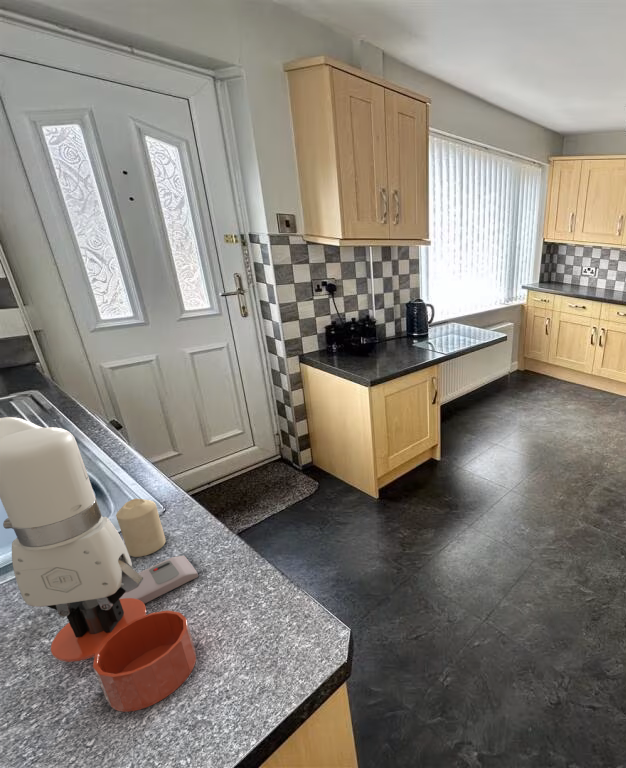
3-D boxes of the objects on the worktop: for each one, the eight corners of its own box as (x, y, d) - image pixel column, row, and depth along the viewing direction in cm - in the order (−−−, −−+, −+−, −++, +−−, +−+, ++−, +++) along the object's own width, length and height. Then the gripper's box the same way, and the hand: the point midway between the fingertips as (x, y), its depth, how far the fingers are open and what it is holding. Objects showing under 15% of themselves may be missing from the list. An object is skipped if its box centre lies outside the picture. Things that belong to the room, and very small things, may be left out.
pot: (90, 720, 52) (74, 684, 50) (132, 650, 61) (120, 617, 59) (178, 702, 55) (166, 667, 52) (207, 638, 63) (198, 605, 61)
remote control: (210, 571, 75) (207, 557, 74) (91, 631, 63) (85, 616, 62) (196, 553, 79) (193, 540, 78) (81, 607, 67) (75, 593, 66)
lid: (32, 672, 55) (17, 641, 53) (83, 609, 64) (72, 581, 62) (124, 656, 58) (112, 626, 56) (160, 598, 67) (151, 570, 65)
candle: (171, 544, 81) (159, 500, 77) (135, 561, 76) (120, 516, 73) (158, 533, 83) (146, 490, 80) (123, 549, 79) (108, 504, 75)
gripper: (-50, 550, 49) (8, 662, 55) (118, 531, 53) (153, 638, 59) (4, 511, 56) (50, 615, 62) (149, 497, 60) (178, 595, 66)
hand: (100, 625), depth 61 cm, fingers closed on lid, 2 cm apart
